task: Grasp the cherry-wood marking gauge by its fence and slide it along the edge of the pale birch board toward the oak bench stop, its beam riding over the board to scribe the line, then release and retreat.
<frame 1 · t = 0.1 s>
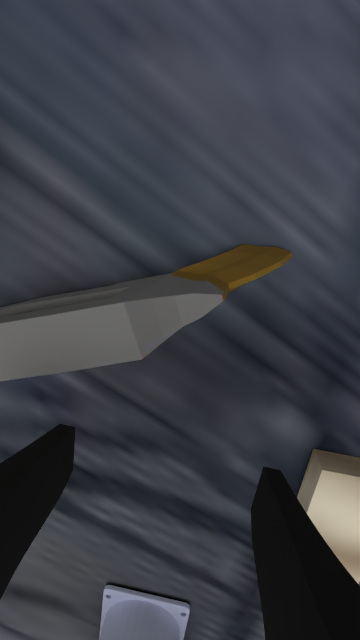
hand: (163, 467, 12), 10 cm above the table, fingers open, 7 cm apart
board: (332, 535, 24), on the table
gun: (77, 304, 22), on the table
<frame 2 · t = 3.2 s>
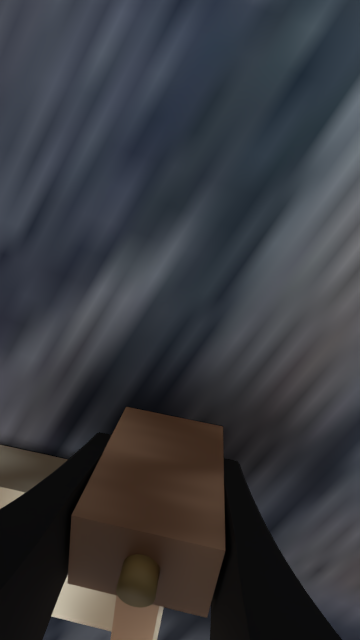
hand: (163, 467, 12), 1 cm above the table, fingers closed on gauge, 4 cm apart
board: (22, 507, 15), on the table
gauge: (169, 442, 13), on the table, touching gripper
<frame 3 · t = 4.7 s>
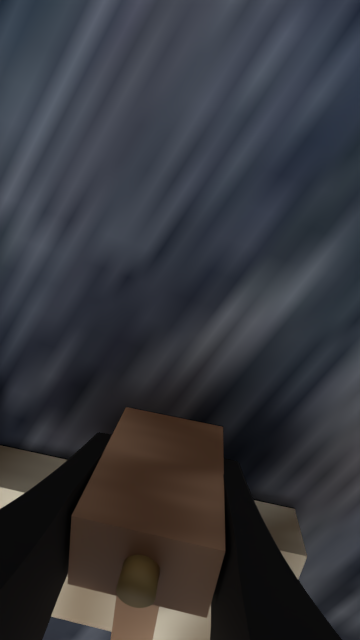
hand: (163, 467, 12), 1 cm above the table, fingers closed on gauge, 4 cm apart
board: (117, 529, 15), on the table
gauge: (169, 443, 13), on the table, touching gripper
when the fingers open (1 cm above the table, at t = 6.6 s): gauge stays where it is, on the table.
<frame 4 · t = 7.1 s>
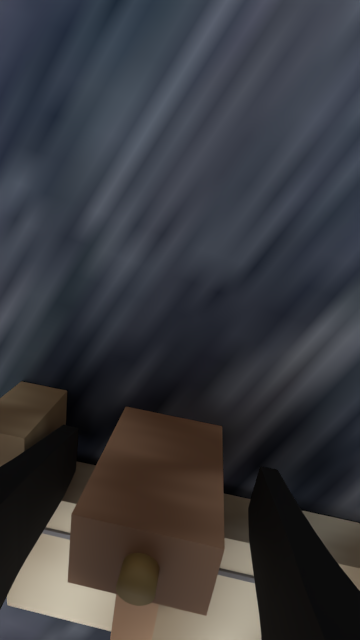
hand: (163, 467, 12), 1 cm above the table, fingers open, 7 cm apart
board: (184, 545, 15), on the table
bench stop: (43, 416, 13), on the table
gauge: (168, 442, 13), on the table
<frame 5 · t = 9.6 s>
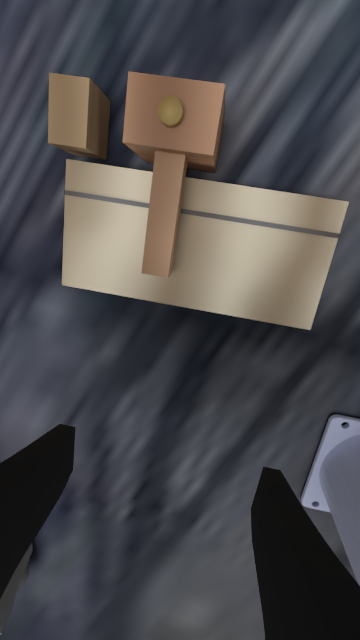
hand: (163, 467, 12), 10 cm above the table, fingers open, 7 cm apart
board: (194, 244, 19), on the table
bench stop: (91, 129, 18), on the table
gauge: (184, 143, 18), on the table
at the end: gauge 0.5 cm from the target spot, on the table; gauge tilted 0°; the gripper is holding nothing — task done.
